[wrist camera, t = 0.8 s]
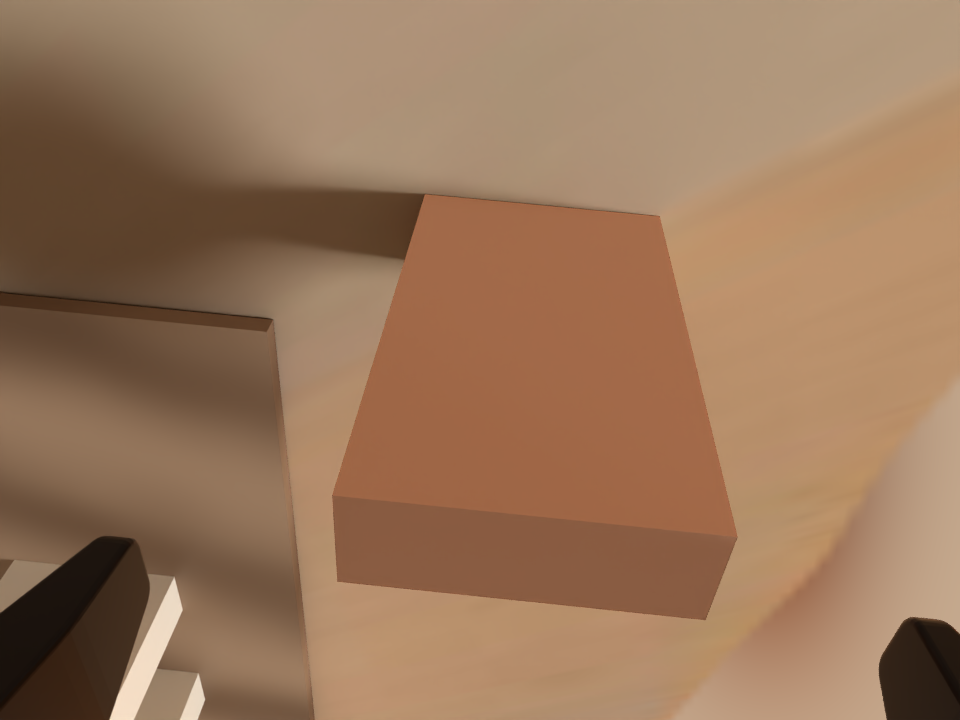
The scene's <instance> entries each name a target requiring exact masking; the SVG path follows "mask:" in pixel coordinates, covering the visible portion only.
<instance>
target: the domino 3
mask: <svg viewBox="0 0 960 720" xmlns="http://www.w3.org/2000/svg"><path fill="white" fill-rule="evenodd" d="M204 701H205V697H204V693H203V689H202V685H201V681H200V677H199V673H192V672H183V671H174V670H164V669H156V671H155V673H154V676H153V678H152V680H151V682H150V685H149V687H148V689H147V691H146V694H145V696H144V698H143V700H142V703H141V705H140V707H139V709H138V712H137V714H136V716H135V718H134V720H198V717H199V715H200V712H201V709H202V707H203V704H204Z"/></svg>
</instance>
